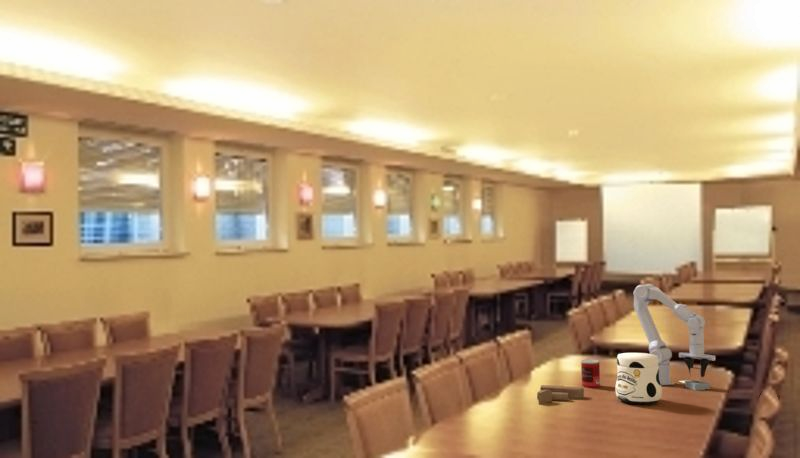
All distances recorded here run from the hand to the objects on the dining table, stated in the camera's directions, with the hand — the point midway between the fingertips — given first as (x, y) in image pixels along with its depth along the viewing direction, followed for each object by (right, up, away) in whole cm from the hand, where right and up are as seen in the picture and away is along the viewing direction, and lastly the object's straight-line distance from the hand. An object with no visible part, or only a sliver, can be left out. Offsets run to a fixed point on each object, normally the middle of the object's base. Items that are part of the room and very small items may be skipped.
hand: (697, 375), depth 299 cm
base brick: (0, -6, 0) cm, 6 cm away
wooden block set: (-62, -7, -18) cm, 65 cm away
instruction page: (+2, -5, +10) cm, 12 cm away
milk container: (-33, -6, -22) cm, 40 cm away
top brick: (0, -2, 0) cm, 2 cm away
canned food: (-43, -6, +8) cm, 44 cm away
